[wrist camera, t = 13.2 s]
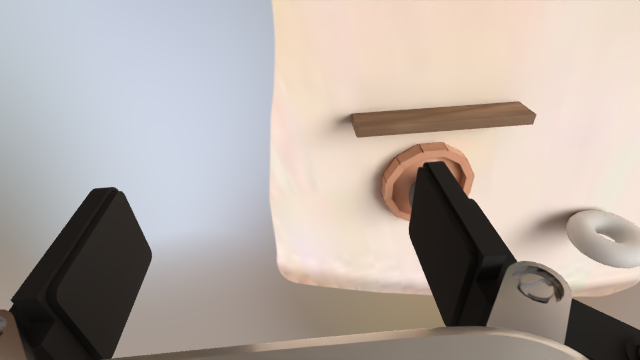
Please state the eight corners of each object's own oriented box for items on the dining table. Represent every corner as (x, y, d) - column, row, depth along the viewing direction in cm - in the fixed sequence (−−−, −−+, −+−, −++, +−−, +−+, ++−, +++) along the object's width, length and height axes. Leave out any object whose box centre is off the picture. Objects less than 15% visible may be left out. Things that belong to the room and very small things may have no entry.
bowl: (384, 146, 44) (388, 154, 42) (475, 139, 44) (482, 147, 43) (379, 216, 50) (382, 224, 49) (458, 209, 51) (463, 217, 49)
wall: (352, 113, 41) (357, 127, 38) (519, 101, 41) (536, 114, 39) (352, 123, 41) (356, 137, 39) (516, 111, 42) (532, 124, 39)
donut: (547, 224, 54) (593, 276, 46) (556, 207, 52) (605, 258, 44) (608, 220, 55) (663, 271, 47) (619, 203, 53) (679, 253, 45)
